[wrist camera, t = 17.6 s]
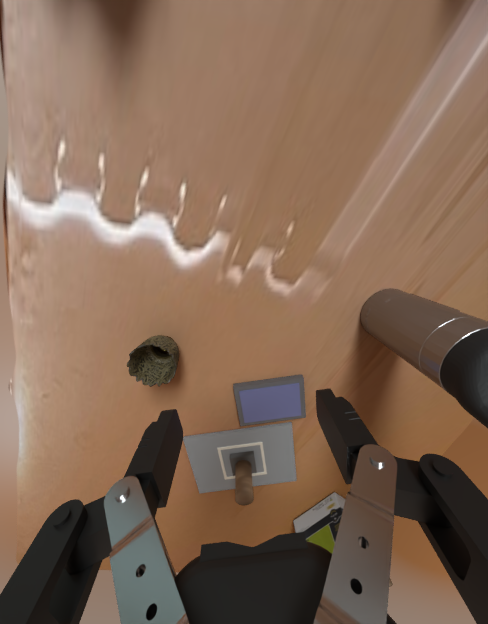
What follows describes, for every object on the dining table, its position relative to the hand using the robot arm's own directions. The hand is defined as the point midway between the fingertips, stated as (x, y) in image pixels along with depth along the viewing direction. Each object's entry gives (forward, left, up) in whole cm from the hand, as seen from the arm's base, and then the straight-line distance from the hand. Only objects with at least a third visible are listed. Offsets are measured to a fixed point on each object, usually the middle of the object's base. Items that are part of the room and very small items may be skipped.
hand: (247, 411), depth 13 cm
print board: (+5, +40, -28) cm, 49 cm away
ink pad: (-3, +24, -28) cm, 37 cm away
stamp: (+5, +40, -28) cm, 49 cm away
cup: (+15, +8, -28) cm, 33 cm away
